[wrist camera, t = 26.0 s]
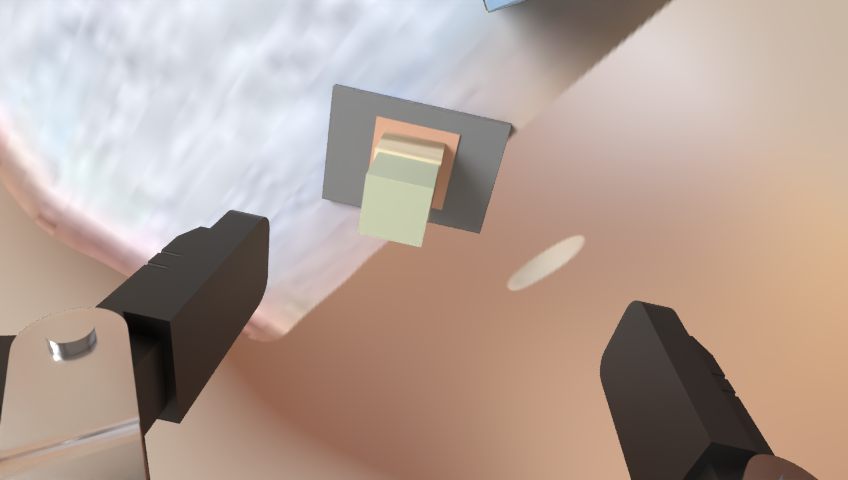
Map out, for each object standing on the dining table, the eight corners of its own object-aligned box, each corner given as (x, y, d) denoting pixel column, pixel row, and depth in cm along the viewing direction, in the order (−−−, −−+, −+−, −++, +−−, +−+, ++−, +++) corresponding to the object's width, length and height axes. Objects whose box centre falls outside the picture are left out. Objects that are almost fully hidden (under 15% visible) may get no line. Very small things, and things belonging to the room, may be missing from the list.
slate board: (335, 83, 42) (332, 86, 41) (510, 123, 42) (511, 127, 41) (324, 194, 48) (321, 199, 47) (479, 228, 48) (479, 234, 47)
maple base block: (385, 130, 43) (375, 147, 38) (445, 143, 43) (441, 162, 38) (377, 185, 45) (366, 207, 41) (433, 197, 45) (428, 221, 41)
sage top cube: (378, 151, 38) (366, 173, 34) (439, 164, 38) (433, 188, 34) (370, 206, 41) (357, 233, 36) (427, 218, 41) (421, 247, 37)
